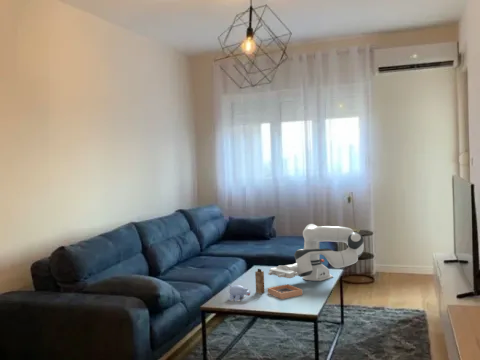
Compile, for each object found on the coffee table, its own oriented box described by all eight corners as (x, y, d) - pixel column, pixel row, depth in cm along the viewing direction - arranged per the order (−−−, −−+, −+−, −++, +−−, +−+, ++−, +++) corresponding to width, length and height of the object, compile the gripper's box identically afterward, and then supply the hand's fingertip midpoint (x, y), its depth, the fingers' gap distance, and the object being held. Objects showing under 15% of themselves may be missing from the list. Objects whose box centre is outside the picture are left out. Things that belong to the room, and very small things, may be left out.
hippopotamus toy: (246, 302, 299) (246, 287, 298) (225, 300, 305) (224, 285, 305) (253, 297, 309) (253, 283, 308) (232, 295, 315) (232, 281, 315)
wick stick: (260, 291, 323) (259, 268, 322) (264, 292, 320) (263, 269, 319) (256, 292, 321) (255, 269, 320) (259, 293, 318) (259, 270, 317)
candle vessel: (288, 289, 325) (288, 284, 325) (302, 294, 311) (302, 289, 311) (268, 293, 317) (267, 288, 317) (281, 299, 303) (281, 293, 303)
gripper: (299, 278, 327) (284, 282, 319) (278, 273, 343) (263, 277, 335) (299, 269, 327) (284, 272, 319) (278, 264, 343) (263, 268, 334)
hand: (273, 274), depth 327 cm, fingers open, 8 cm apart
